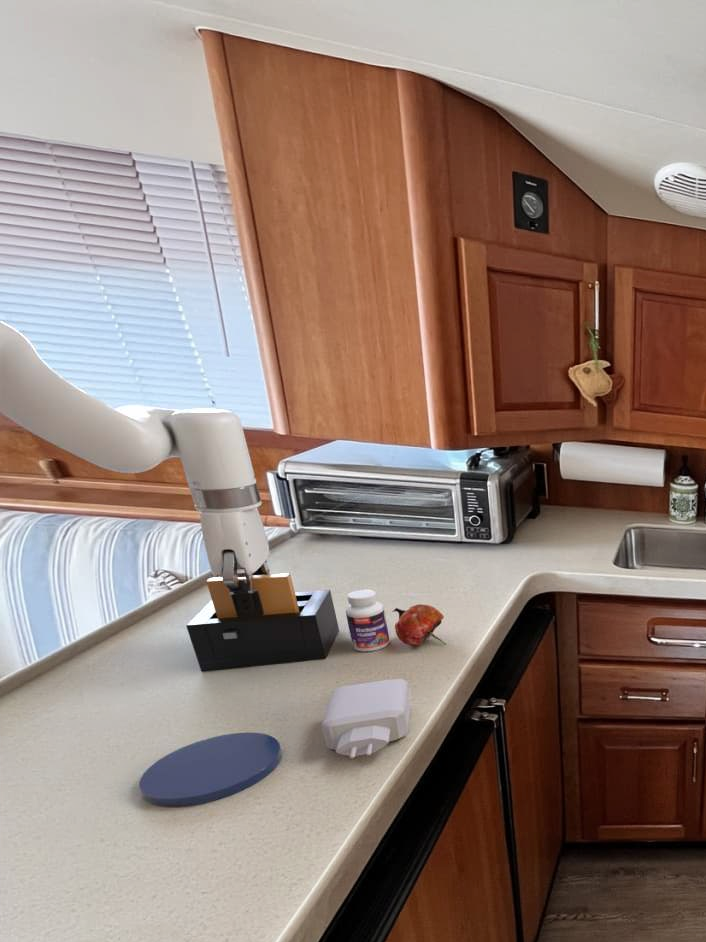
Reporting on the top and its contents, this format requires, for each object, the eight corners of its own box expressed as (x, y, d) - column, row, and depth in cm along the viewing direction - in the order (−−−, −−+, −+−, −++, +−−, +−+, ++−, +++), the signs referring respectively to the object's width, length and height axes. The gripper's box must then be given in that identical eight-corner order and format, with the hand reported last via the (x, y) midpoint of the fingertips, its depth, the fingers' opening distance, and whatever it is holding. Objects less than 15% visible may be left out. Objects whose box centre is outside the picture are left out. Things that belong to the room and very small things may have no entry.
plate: (119, 817, 70) (116, 809, 70) (169, 750, 81) (166, 742, 81) (265, 793, 76) (262, 785, 75) (294, 732, 86) (292, 725, 86)
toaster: (199, 674, 97) (183, 627, 94) (226, 640, 107) (213, 597, 104) (324, 661, 104) (314, 617, 101) (339, 630, 114) (330, 589, 111)
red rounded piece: (452, 644, 117) (407, 609, 115) (467, 622, 113) (421, 585, 112) (422, 666, 110) (374, 629, 109) (437, 643, 107) (387, 604, 105)
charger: (319, 780, 78) (337, 716, 90) (406, 763, 82) (412, 704, 95) (311, 748, 77) (330, 687, 89) (400, 733, 81) (406, 677, 93)
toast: (227, 651, 100) (206, 581, 96) (230, 647, 102) (209, 577, 97) (304, 644, 104) (287, 576, 100) (306, 639, 106) (290, 573, 101)
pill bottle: (358, 655, 106) (347, 602, 103) (349, 644, 110) (337, 592, 106) (394, 646, 110) (385, 595, 106) (384, 635, 113) (374, 585, 110)
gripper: (215, 483, 99) (245, 589, 106) (168, 513, 85) (206, 633, 92) (275, 482, 102) (300, 586, 109) (239, 511, 88) (271, 628, 95)
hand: (257, 606), depth 100 cm, fingers open, 5 cm apart
